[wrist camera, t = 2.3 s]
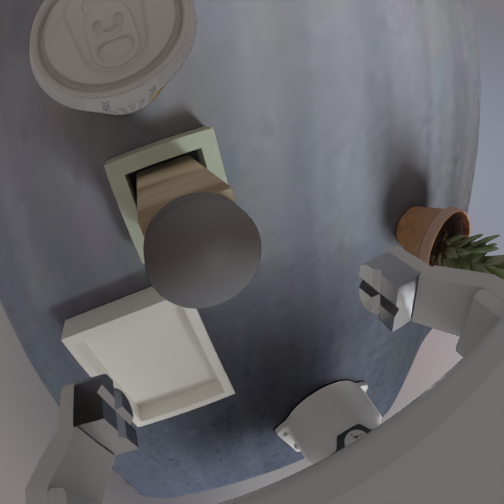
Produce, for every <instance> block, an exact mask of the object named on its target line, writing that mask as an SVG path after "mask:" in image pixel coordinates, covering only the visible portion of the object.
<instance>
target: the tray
mask: <svg viewBox="0 0 504 504" xmlns="http://www.w3.org/2000/svg"><path fill="white" fill-rule="evenodd" d="M61 341H62V342H63V343H64V345H65V346H66V347H67V349H68V350H69V351H70V352H71V354H72V355H73V356H74V358H75V359H76V360H77V361H78V363H79V364H80V365H81V366H82V367H83V369H84V370H85V371H86V372H87V373H88V375H89V376H90V377H95V376H98V375H101V374H107V375H108V376H109V377H110V378H111V379H112V380H113V386H114V388H117V389H120V390H121V391H122V392H123V393H124V394H125V396H126V397H127V399H128V400H129V403H130V406H131V408H132V412H133V420H132V422H133V423H134V424H135V425H137V426H138V427H141V426H144V425H148V424H151V423H154V422H157V421H161V420H164V419H167V418H170V417H173V416H176V415H179V414H182V413H185V412H188V411H191V410H193V409H196V408H199V407H202V406H204V405H207V404H210V403H212V402H215V401H218V400H220V399H223V398H225V397H228V396H230V395H233V394H235V392H234V389H233V387H232V385H231V383H230V380H229V378H228V376H227V374H226V372H225V369H224V367H223V365H222V363H221V361H220V359H219V357H218V355H217V352H216V350H215V348H214V346H213V344H212V341H211V339H210V337H209V335H208V332H207V330H206V328H205V326H204V323H203V321H202V319H201V316H200V314H199V312H198V310H197V309H193V308H185V307H181V306H178V305H175V304H173V303H171V302H169V301H167V300H166V299H164V298H163V297H162V296H161V295H160V294H159V293H158V292H157V291H156V290H155V289H154V288H153V286H151V287H148V288H146V289H143V290H141V291H138V292H136V293H133V294H131V295H128V296H125V297H123V298H120V299H118V300H115V301H113V302H110V303H107V304H105V305H102V306H100V307H97V308H95V309H92V310H90V311H87V312H85V313H82V314H79V315H77V316H74V317H72V318H69V319H67V320H65V322H64V327H63V332H62V337H61Z"/></svg>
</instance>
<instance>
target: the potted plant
mask: <svg viewBox="0 0 504 504" xmlns="http://www.w3.org/2000/svg"><path fill="white" fill-rule="evenodd" d="M396 234H397V239H398V241H399V243H400V245H401V246H402V247H403V248H404V250H405V251H407V252H409V253H410V254H412V255H414V256H415V257H417V258H418V259H420V260H422V261H423V262H425V263H426V264H428V265H430V266H431V267H433V266H435V265H436V266H443V267H449V268H456V269H463V270H469V271H476V272H482V273H489V274H495V275H496V276H498V277H499V278H501V279H502V280H504V255H497V256H485V255H486V253H487V252H491V251H495V250H497V249H499V248H497V247H494V246H495V245H497V244H496V243H492V244H489V245H485V244H486V243H487V242H488V241H490V240H492V239H495V238H497V237H499V236H500V235H494V236H490V237H486V238H484V239H482V240H479V241H477V242H472V241H474V240H476V239H477V238H480V237H481V236H482V235H483V234H478V235H475V236H471V237H470V221H469V218H468V215H467V213H466V212H464V211H463V210H461V209H458V208H455V207H448V208H446V209H440V208H429V207H412V208H409V209H408V210H407V211H406V212H405V213H404V214H403V215H402V217H401V219H400V221H399V223H398V226H397V232H396Z"/></svg>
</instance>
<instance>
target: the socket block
mask: <svg viewBox="0 0 504 504" xmlns="http://www.w3.org/2000/svg"><path fill="white" fill-rule="evenodd" d="M193 150H196V153H197V157H198V160H199V163H200V164H201V165H202V166H204V167H205V168H206V169H208V170H209V171H210V172H212V173H213V174H214V175H216V176H217V177H218V178H220V179H221V180H222V181H224V182H225V183H226V184H228V183H227V179H226V175H225V171H224V167H223V163H222V159H221V155H220V151H219V148H218V144H217V140H216V136H215V132H214V128H213V127H206V126H204V127H200V128H197V129H194V130H190V131H187V132H184V133H181V134H178V135H174V136H171V137H168V138H165V139H162V140H159V141H157V142H154V143H151V144H148V145H145V146H143V147H140V148H137V149H134V150H132V151H129V152H127V153H124V154H121V155H119V156H116V157H114V158H111V159H109V160H107V162H106V163H105V165H104V168H105V171H106V174H107V177H108V180H109V182H110V185H111V188H112V191H113V193H114V196H115V198H116V201H117V204H118V206H119V209H120V211H121V214H122V216H123V219H124V221H125V224H126V226H127V229H128V231H129V234H130V236H131V238H132V241H133V243H134V245H135V248H136V250H137V252H138V255H139V257H140V259H141V261H142V264H144V263H145V262H144V251H143V245H144V236H143V234H142V231H141V229H140V226H139V224H138V214H137V198H136V196H135V193H134V190H133V187H132V184H131V181H130V179H129V176H128V174H129V173H131V172H134V171H136V170H139V169H142V168H144V167H147V166H150V165H152V164H155V163H158V162H161V161H164V160H166V159H169V158H172V157H175V156H178V155H181V154H184V153H187V152H190V151H193Z"/></svg>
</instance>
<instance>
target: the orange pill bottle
mask: <svg viewBox="0 0 504 504" xmlns="http://www.w3.org/2000/svg"><path fill="white" fill-rule="evenodd" d="M196 23H197V22H196V12H195V7H194V4H193V1H192V0H44V2H43V3H42V5H41V7H40V8H39V10H38V12H37V14H36V17H35V19H34V22H33V25H32V29H31V35H30V64H31V68H32V71H33V74H34V76H35V79H36V81H37V82H38V84H39V85H40V87H41V88H42V89H43V90H44V92H45V93H46V94H47V95H49V96H50V97H51V98H52V99H54V100H55V101H57V102H58V103H60V104H62V105H65V106H67V107H70V108H73V109H77V110H83V111H90V112H98V113H105V114H112V115H126V114H131V113H134V112H137V111H139V110H141V109H142V108H144V107H145V106H147V105H148V104H149V103H150V102H151V101H152V100H153V99H154V98H155V97H156V95H157V94H158V93H159V92H160V91H161V90H162V88H163V87H164V86H165V85H166V84H167V83H168V81H169V80H170V79H171V78H172V77H173V76H174V75H175V73H176V72H177V71H178V70H179V68H180V67H181V66H182V64H183V63H184V61H185V59H186V58H187V56H188V54H189V52H190V50H191V47H192V44H193V41H194V38H195V33H196Z"/></svg>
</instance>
